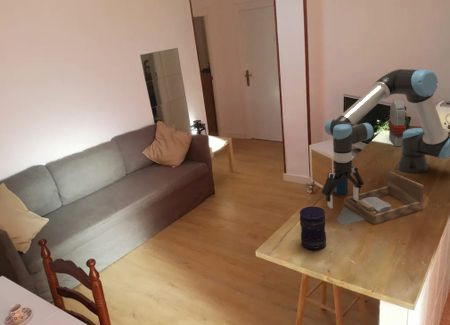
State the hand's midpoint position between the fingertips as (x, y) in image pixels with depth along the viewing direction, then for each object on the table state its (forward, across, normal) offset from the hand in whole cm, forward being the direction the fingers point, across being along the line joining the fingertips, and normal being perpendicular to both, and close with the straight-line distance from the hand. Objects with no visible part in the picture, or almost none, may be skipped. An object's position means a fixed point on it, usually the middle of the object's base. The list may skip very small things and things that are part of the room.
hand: (343, 203), depth 156 cm
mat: (+6, 0, 0) cm, 6 cm away
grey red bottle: (+6, -89, -65) cm, 110 cm away
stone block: (+5, -21, +3) cm, 22 cm away
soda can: (+6, -12, -19) cm, 23 cm away
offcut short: (+3, -9, +4) cm, 10 cm away
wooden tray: (+6, -19, +3) cm, 20 cm away
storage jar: (+6, +24, +14) cm, 28 cm away
